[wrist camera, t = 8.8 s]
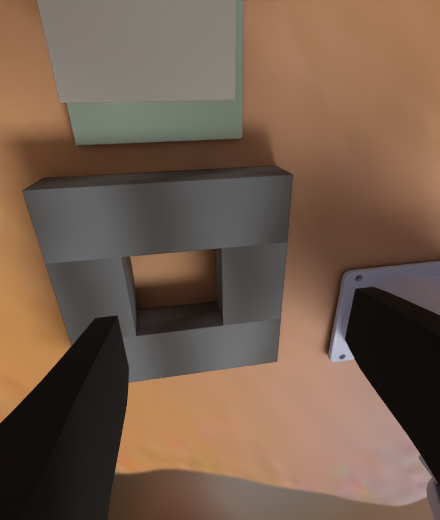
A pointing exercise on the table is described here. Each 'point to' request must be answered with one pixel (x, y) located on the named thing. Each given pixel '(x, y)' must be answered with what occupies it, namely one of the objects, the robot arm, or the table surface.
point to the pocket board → (168, 241)
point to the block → (141, 50)
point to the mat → (163, 114)
